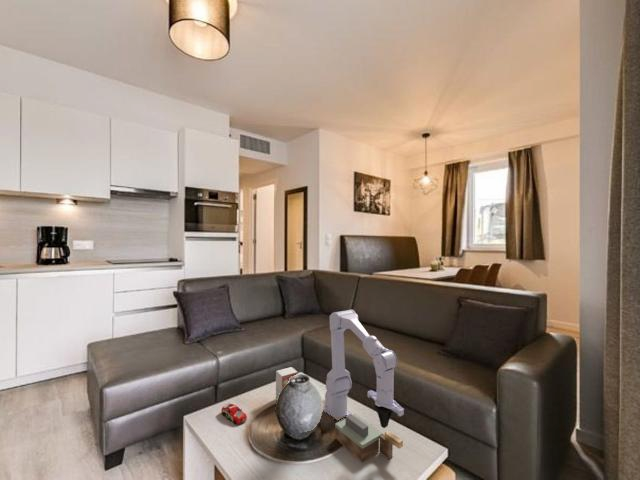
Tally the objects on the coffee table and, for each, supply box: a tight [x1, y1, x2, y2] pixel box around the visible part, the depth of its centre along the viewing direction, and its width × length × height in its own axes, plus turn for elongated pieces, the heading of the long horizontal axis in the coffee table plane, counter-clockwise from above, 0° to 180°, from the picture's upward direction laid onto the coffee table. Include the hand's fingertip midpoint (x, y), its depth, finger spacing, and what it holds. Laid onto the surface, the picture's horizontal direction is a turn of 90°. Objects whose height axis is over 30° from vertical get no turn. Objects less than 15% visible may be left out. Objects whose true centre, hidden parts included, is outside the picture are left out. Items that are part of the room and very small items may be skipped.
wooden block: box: [384, 430, 404, 449], centre depth 101 cm, size 6×2×2 cm, turn 37°
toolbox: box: [334, 427, 394, 463], centre depth 107 cm, size 18×10×6 cm, turn 37°
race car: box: [221, 403, 248, 426], centre depth 124 cm, size 13×5×4 cm, turn 48°
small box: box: [275, 366, 299, 400], centre depth 137 cm, size 8×6×13 cm
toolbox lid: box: [334, 413, 384, 449], centre depth 108 cm, size 14×10×5 cm
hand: (384, 426), depth 104 cm, fingers closed
